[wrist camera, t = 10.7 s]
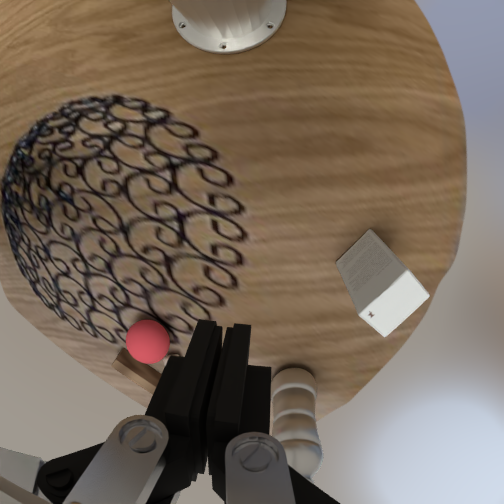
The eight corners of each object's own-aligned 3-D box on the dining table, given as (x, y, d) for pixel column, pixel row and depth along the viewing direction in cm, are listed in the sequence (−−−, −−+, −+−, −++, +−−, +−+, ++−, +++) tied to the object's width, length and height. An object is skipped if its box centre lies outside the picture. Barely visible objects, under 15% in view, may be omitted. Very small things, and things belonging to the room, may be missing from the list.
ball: (123, 366, 39) (138, 338, 45) (163, 376, 39) (176, 346, 44) (115, 335, 36) (133, 307, 42) (158, 345, 36) (173, 315, 41)
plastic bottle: (309, 394, 46) (318, 507, 27) (266, 389, 46) (260, 504, 27) (320, 364, 43) (337, 484, 25) (274, 358, 43) (271, 482, 25)
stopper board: (118, 354, 46) (111, 366, 43) (123, 347, 45) (116, 359, 42) (200, 407, 48) (196, 420, 46) (206, 402, 48) (203, 415, 45)
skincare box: (356, 283, 38) (383, 340, 27) (334, 261, 38) (356, 315, 27) (391, 249, 37) (432, 296, 25) (370, 226, 36) (407, 267, 25)
